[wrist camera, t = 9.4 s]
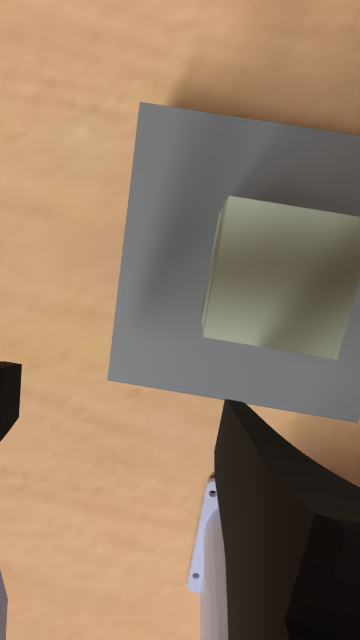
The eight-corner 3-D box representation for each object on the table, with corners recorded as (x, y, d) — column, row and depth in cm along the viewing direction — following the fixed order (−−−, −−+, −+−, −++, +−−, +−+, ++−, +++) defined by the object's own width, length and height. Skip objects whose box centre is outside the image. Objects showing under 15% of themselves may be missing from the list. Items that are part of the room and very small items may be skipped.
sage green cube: (295, 328, 16) (337, 360, 12) (201, 312, 17) (202, 337, 12) (320, 230, 15) (377, 219, 11) (219, 214, 16) (228, 195, 11)
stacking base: (334, 398, 20) (357, 422, 17) (120, 362, 21) (107, 380, 18) (399, 165, 17) (440, 147, 14) (149, 127, 18) (139, 102, 15)
